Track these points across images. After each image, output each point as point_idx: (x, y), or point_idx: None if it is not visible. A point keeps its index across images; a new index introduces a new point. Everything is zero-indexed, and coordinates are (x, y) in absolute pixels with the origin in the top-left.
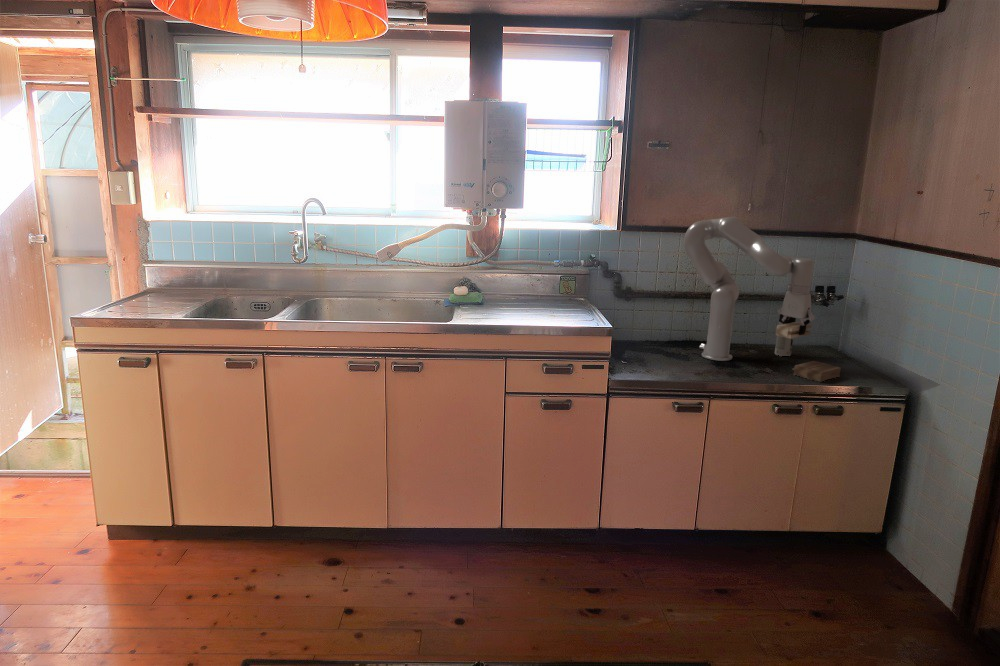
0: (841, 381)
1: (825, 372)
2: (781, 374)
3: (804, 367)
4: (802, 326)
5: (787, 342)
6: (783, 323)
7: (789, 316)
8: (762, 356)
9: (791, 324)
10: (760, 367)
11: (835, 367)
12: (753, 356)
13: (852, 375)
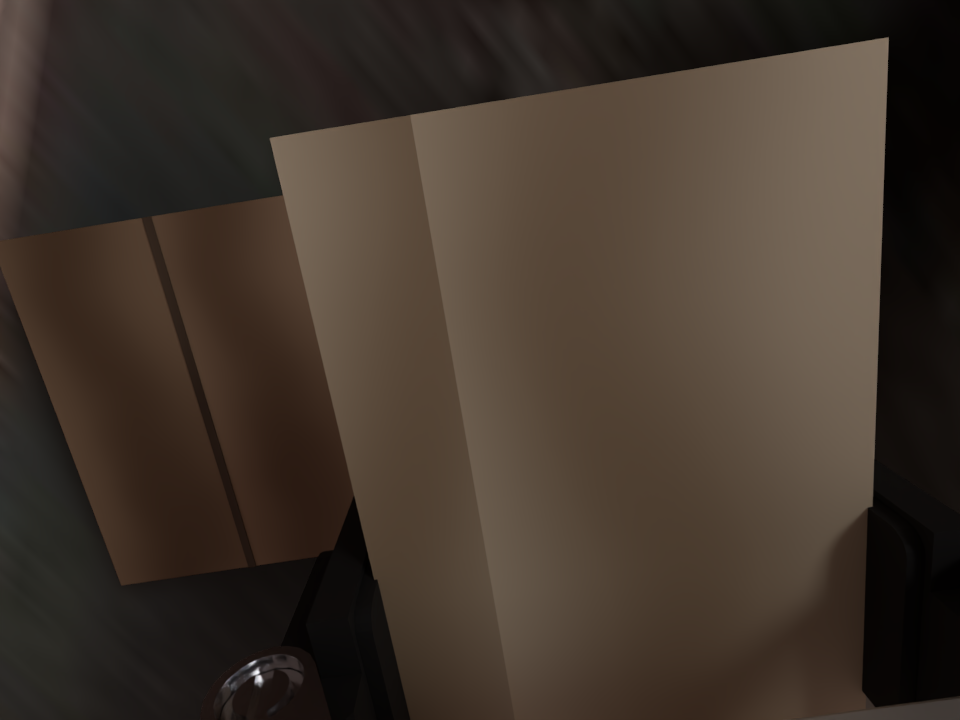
0: (70, 455)
1: (28, 321)
2: (385, 86)
3: (207, 230)
4: (323, 653)
5: None
6: (919, 498)
7: (915, 702)
8: (885, 418)
9: (729, 637)
10: (647, 74)
11: (138, 545)
12: (933, 335)
13: (190, 664)
